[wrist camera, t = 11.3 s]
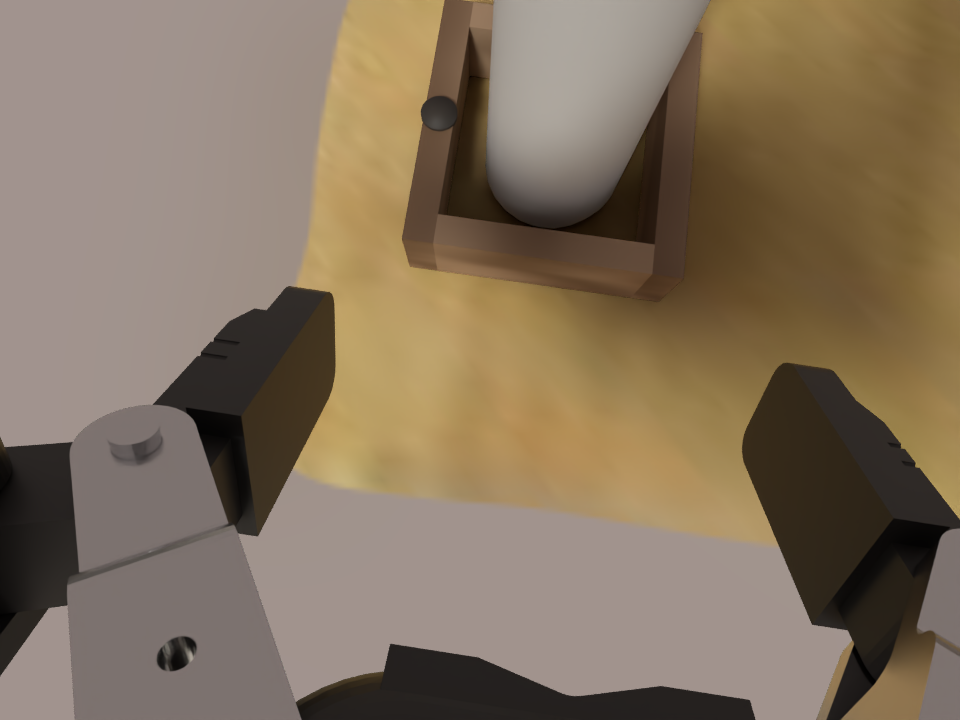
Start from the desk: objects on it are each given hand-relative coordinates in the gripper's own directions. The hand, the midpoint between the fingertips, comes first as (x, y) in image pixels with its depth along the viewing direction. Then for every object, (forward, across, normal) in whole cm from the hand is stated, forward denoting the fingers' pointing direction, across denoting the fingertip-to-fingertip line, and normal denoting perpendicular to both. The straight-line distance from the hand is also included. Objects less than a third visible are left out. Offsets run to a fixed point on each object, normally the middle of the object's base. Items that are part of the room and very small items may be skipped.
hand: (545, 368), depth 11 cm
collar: (+13, 0, 0) cm, 13 cm away
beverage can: (+13, 0, 0) cm, 13 cm away
